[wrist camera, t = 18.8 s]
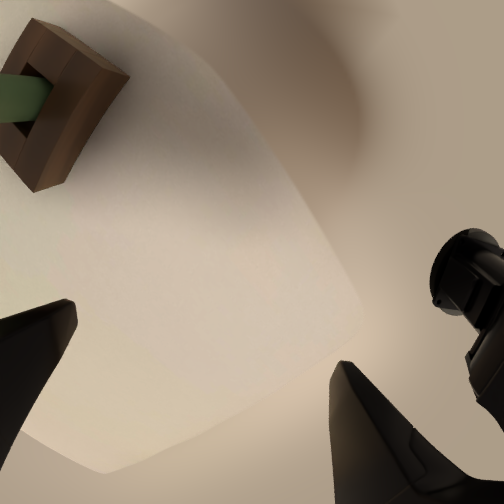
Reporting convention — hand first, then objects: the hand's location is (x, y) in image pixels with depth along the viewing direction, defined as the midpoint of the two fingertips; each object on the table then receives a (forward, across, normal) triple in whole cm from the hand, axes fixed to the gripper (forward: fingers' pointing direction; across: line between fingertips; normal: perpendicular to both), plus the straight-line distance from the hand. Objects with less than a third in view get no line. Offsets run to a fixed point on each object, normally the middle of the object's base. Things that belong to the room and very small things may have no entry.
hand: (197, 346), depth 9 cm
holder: (+13, +17, -8) cm, 23 cm away
